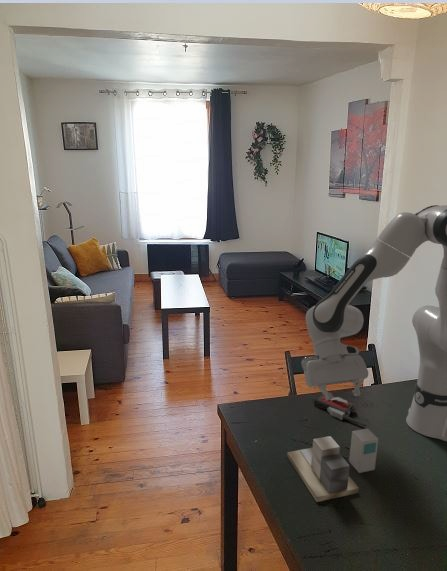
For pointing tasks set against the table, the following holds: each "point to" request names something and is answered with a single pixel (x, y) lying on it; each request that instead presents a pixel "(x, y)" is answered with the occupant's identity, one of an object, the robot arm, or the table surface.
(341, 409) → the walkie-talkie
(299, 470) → the rail board
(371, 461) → the block
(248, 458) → the table surface
